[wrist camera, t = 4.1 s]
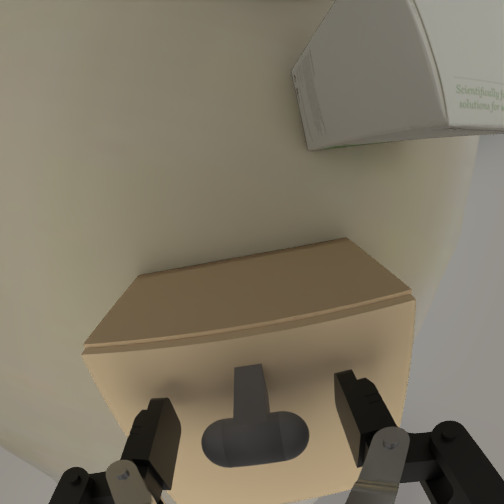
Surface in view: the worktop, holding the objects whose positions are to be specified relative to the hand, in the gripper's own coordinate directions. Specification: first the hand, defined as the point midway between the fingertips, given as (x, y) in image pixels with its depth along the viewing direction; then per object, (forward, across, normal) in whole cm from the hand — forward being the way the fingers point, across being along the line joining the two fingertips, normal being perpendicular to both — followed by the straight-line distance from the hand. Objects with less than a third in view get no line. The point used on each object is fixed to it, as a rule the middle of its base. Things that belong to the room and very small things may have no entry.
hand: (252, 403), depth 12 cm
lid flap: (+2, 0, +5) cm, 6 cm away
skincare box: (+12, -10, -13) cm, 20 cm away
